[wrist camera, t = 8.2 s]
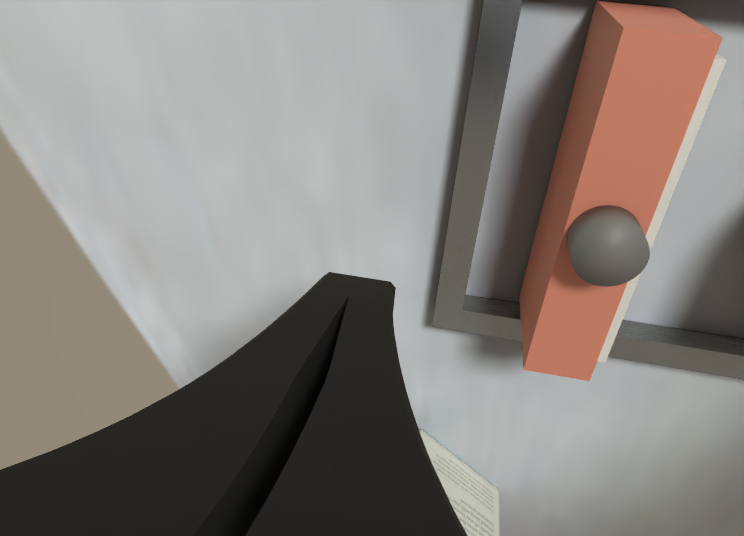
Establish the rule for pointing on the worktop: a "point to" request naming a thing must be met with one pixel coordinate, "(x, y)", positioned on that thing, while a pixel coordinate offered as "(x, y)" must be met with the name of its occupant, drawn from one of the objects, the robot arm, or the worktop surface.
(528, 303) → the free jaw
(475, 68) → the vise body
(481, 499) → the small box
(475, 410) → the worktop surface
